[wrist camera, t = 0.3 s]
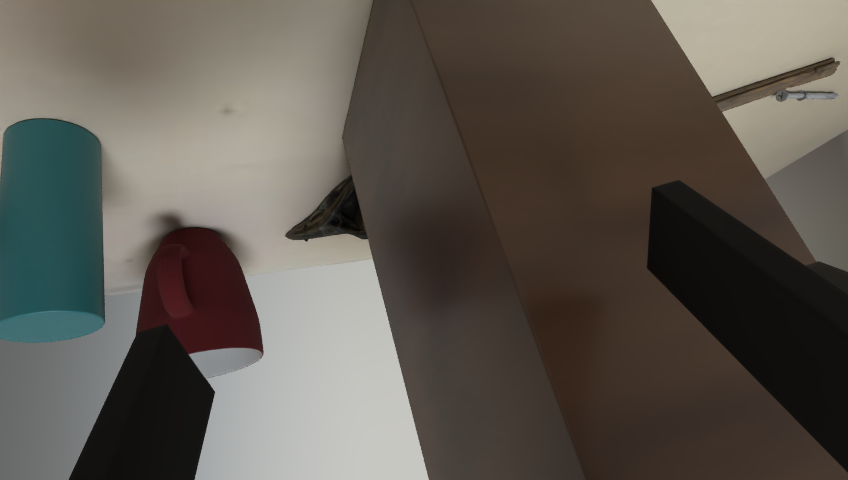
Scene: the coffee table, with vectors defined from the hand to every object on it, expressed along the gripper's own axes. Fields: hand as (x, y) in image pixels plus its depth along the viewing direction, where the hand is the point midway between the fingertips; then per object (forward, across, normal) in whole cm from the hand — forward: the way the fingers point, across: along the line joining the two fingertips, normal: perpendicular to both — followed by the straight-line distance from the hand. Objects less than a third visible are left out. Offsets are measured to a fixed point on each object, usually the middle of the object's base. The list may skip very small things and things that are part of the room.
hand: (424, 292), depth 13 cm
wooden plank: (+26, +31, -12) cm, 42 cm away
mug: (+24, -16, -7) cm, 30 cm away
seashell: (+24, -3, -8) cm, 26 cm away
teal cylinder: (+17, -16, +3) cm, 23 cm away
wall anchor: (+27, +39, -12) cm, 49 cm away
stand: (+18, +6, +1) cm, 19 cm away
